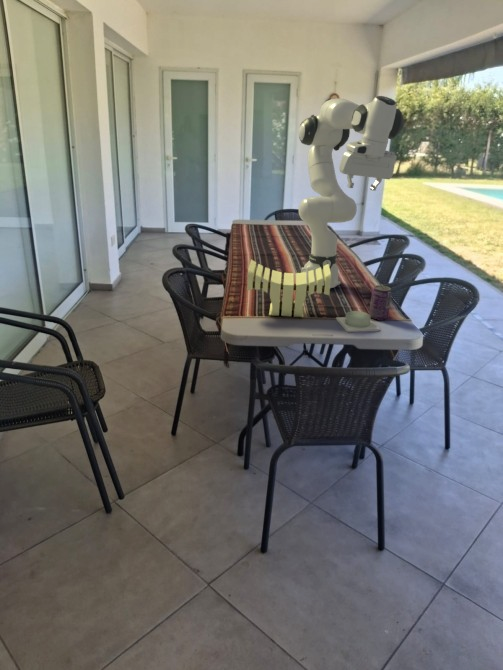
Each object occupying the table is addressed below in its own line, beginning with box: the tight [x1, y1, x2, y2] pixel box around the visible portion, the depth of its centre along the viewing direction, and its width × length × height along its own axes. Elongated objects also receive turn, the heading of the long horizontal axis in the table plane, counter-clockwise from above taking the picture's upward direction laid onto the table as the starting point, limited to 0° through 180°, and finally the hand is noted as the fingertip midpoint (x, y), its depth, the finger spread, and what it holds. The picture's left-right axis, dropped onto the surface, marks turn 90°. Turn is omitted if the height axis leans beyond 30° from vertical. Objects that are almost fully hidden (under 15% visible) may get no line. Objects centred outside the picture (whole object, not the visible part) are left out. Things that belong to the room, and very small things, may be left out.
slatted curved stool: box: [246, 259, 331, 318], centre depth 186 cm, size 30×16×18 cm, turn 85°
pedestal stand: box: [335, 310, 380, 333], centre depth 178 cm, size 12×12×4 cm
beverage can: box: [368, 284, 392, 321], centre depth 185 cm, size 7×7×12 cm
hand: (361, 188), depth 175 cm, fingers open, 8 cm apart
